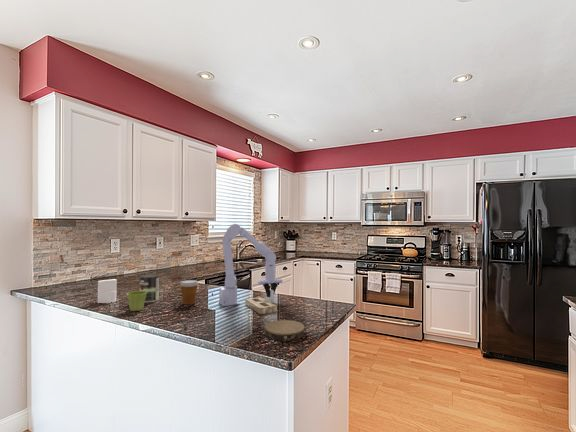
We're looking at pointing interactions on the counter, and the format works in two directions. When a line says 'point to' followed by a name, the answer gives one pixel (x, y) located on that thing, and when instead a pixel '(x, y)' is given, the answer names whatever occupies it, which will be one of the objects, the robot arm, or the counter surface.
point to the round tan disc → (284, 330)
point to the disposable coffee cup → (189, 291)
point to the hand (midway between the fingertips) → (270, 296)
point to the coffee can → (150, 286)
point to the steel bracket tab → (271, 296)
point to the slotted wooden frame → (261, 305)
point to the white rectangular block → (107, 291)
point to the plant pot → (136, 300)
